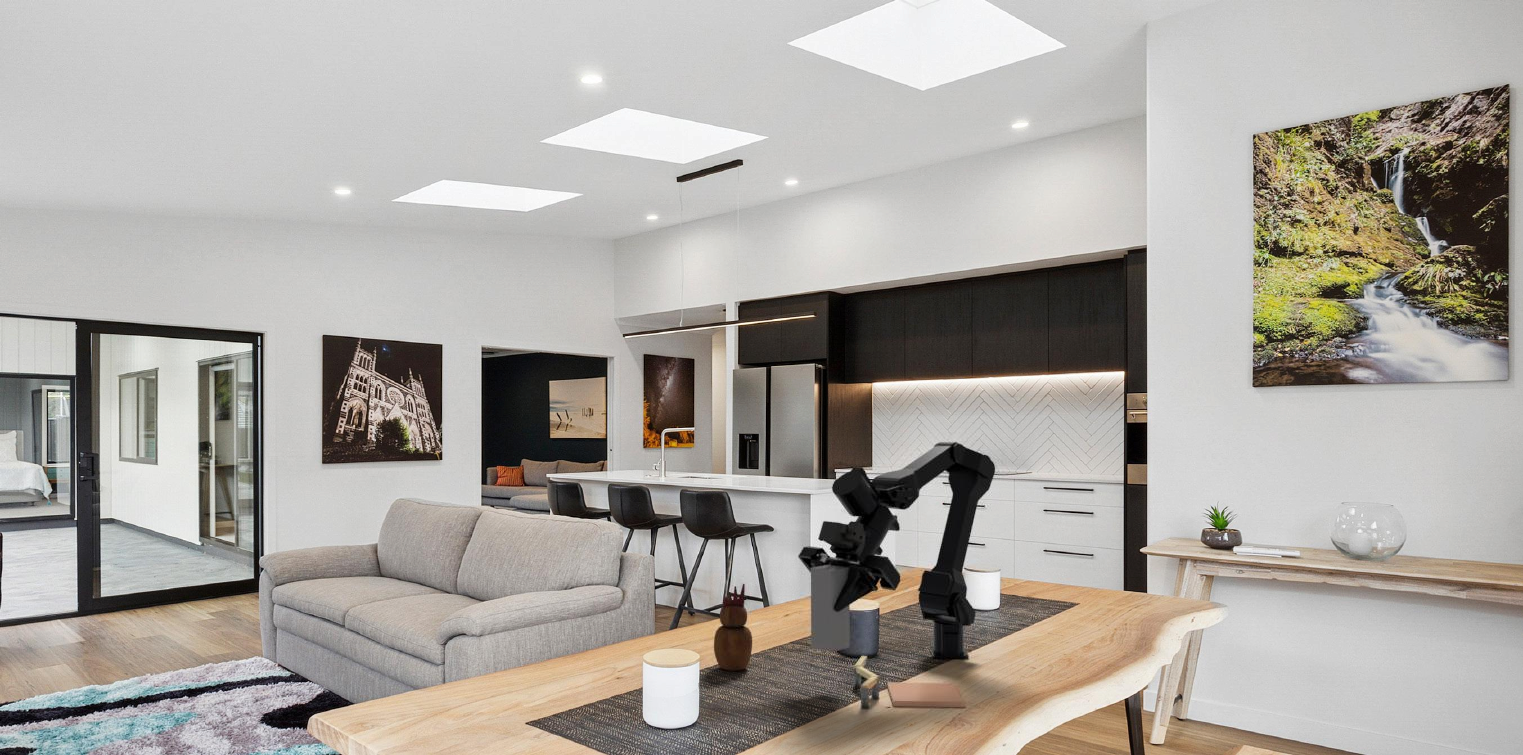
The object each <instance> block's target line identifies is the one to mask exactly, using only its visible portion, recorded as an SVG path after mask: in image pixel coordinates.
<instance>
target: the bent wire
mask: <svg viewBox="0 0 1523 755" xmlns="http://www.w3.org/2000/svg"><path fill="white" fill-rule="evenodd" d="M868 664H869V663H868V655H861V656H860V657H859V659H858V661H857V662H856V663H855V664H854V665H853V688H855V689H860V708H861V709H862V710H863V709H865V710H867V709H870V708H869V706H870V705H869V703H870V700H869V699H870V698H869V695H870V694H871V699H872V700H878V699H880V676H879V675H877V674H876V673H874V672H872V671H870V670H869V669H868ZM862 678H864V679H867V680H865V681H864V682H863V683H862ZM869 690H871V693H870V694H869V692H870V691H869Z"/></svg>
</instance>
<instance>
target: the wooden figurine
mask: <svg viewBox="0 0 1523 755" xmlns="http://www.w3.org/2000/svg"><path fill="white" fill-rule="evenodd" d="M745 588H746V585H745V583H742V586H741V590H740V593H739V597H738V591H737V586H734V588H733V589H734V590H733V596H732V593H731V592H728V597H727V596H724V599H723V604H722V607H721V608H720V611H719V623H720V624H721V626H719V627H718V628H717V629H716V631H715V634H714V636H713V637H714V639H713V652H714V656H715V660H716V662H717V664H718V666H719V667H720V668H721V669H723V670H725V671H728V672H737V671H742V670H744V669H746V668H748V665H749V663H750V660H751V656H752V650H753V635H752V632H751V630H750V628H749V627H747V626H746V624H747V621H748V612H747V609H746V608H745V594H746V593H745V590H746V589H745ZM732 597H733V598H732Z"/></svg>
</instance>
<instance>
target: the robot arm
mask: <svg viewBox="0 0 1523 755" xmlns="http://www.w3.org/2000/svg"><path fill="white" fill-rule="evenodd" d="M944 472H946V474H948V478H947V481H948V484H949V486H950V489H951V493H952V497H951V502H950V503H949V504H950V506H949V508H948V509H949V510H948V513H947V518H946V521H945V522H946V523H945V525H944V526H945V527H944V529H943V530H944V531H943V535H942V539H941V543H940V546H939V547H940V548H939V553H938V555H937V561H936V565H934V566H933V568H932V569H931V570H926V569H925V570H924V571H923V572H922V575H921V581H920V584H919V587H918V589H917V591H918V592H919V593H918V604H919V606H920V610H921V615H922V618H923V620H924V621H926V620H927V621H931V622H932V633H933V634H932V636H933V637H932V640H933V644H932V645H933V646H929V651H930V653H931V655H932V657H933V658H936V659H937V658H939V659H947V658H948V659H969V658H970V655H969V654H968V652H967V651H966V650H965V626H969V627H970V626H972V624H974V623H975V618H976V610H975V609H974V607H973V606H972V605H971V603H970V602H969V601H968V599H967V594H968V593H967V592H968V586H967V584H966V581H965V578H964V575H963V569H964V565H965V561H966V557H967V556H966V555H967V551H968V549H969V547H968V546H969V542H970V537H971V535H972V534H971V533H972V530H973V524H974V521H975V516H976V512H977V507H978V504H979V501H980V500H981V498H983V497H984V496H985V494H986V493H988V492H989V490H990V488H991V484H992V483H993V482H992V481H993V480H994V476H995V474H996V465H995V463H994V461H993V460H992V459H991V457H990V456H989V455H987V454H983V453H981V452H978V451H977V450H973V449H970V448H968V447H966V446H964V445H963V444H962V443H959V442H957V441H940V442H938V443H935V444H934V446H933V447H932V448H931V449H930V450H928V451H926V452H925V453H923V454H922V455H921V456H919V457H918V458H916V459H915V460H912V461H911V463H908V464H907V465H906V466H905V467H903V468H901V469H897V470H893V471H888V472H885V473H882V474H880V475H877V476H875V477H874V478H873V479H872V480H871V479H870V478H869V477H868V474H867V472H866V471H865V469H864V468H863V467H861V466H853V467H852V468H851V470H850V471H847V472H844V473H843V474H841V475H840V476H839V477H838V478H835V480H834V481H833V483H832V486H831V491H832V493H833V495H834V496H835V497H836V498H837V499H838V500H839V502H840V504H841V505H842V506H843V508H844V509H845V511H846V512H847V513H848V515H849V516H851V517H854V518H855V517H857V518H856V520H855V521H852V520H851V521H850V522H849V523H848V524H847V523H842V522H837V521H828V520H827V521H825V520H823V522H822V524H821V528H820V532H819V534H818V538H817V539H818V540H819V541H821V542H824V543H827V544H829V545H830V546H829V551H831V553H832V554H834V555H835V556H830V555H828V553H827V551H826V550H825V549H824V548H823V547H816V546H811V545H808V546H804V547H802V549H801V551H800V553H799V554H798V556H797V557H798V559H799V560H800V561H801V562H802V564H803V565H804V566H805V568H806V569H807V570H808V572H810V574H811V568H812V567H818V566H824V565H834V566H841V567H847V568H849V572H848V579H847V581H846V583H845V585H844V587H843V589H842V591H841V593H840V595H839V597H838V598H837V601H836V603H835V605H834V610H835V611H836V612H839V611H841V610H842V609H844V608H845V607H847V606H848V605H849V606H850V605H851V604H853V603H855V602H857V601H858V600H859V599H861V598H863V597H865V596H867V595H869V594H870V593H873V592H878V590H879V587H878V586H877V585H878V583H879V584H880V585H879V586H880V587H881V588H882V589H883V590H889V591H896V589H897V588H898V586H899V584H900V582H901V574H900V572H899V570H898V569H897V568H896V566H895V565H894V564H893V562H892V561H891V559H890V558H889V557H888V556H884V555H882V553H883V552H884V550H883V548H882V547H881V545H882V543H883V541H884V539H885V538H886V536H887V534H888V533H889V531H893V532H894V531H895V532H899V531H900V530H901V529H900V523H899V521H898V515H896V514H893V513H892V512H891V510H890V509H895V510H903V511H904V510H908V509H909V508H910V507H911V506H913V504H914V503H915V501H916V500H918V499H919V497H920V490H922V488H923V487H924V486H926V485H927V484H930V482H932V481H933V480H934V479H935V478H937V477H938V476H940V475H941V474H942V473H944Z"/></svg>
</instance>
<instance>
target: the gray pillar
mask: <svg viewBox="0 0 1523 755" xmlns="http://www.w3.org/2000/svg"><path fill="white" fill-rule="evenodd" d="M848 572H849V568H847V567H841V566H834V565H824V566H818V567H812V568H811V573H810V630H811V631H810V645H811V646H810V647H811V648H814V649H818V650H821V651H825V652H830V653H834V652H838V651H840V650H841V651H842V650H844V649H845V650H846V649H849V648H850V647H851V643H850V642H851V641H850V640H851V634H850V633H851V631H850V630H851V629H850V628H851V627H850V625H851V624H850V622H851V620H850V612H851V610H850V605H848V606H847V607H845V608H844V609H842V610H841V611H839V612H836V611H835V610H834V605H835V603H836V601H837V598H838V597H839V595H840V593H841V591H842V589H843V587H844V585H845V583H846V581H847V579H848Z"/></svg>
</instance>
